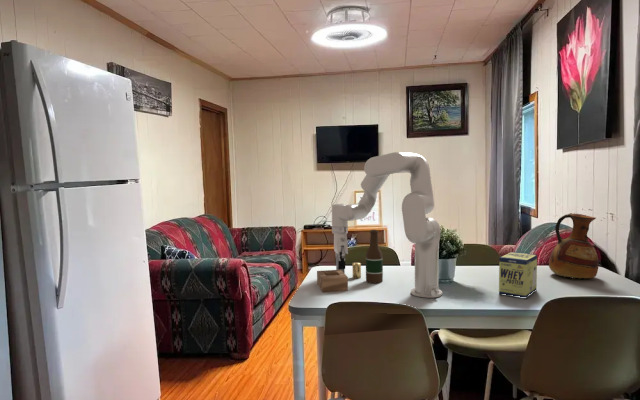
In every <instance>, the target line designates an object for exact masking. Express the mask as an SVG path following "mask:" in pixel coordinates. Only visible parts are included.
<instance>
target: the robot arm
mask: <svg viewBox="0 0 640 400" xmlns="http://www.w3.org/2000/svg"><path fill="white" fill-rule="evenodd" d="M363 167H364V169H363V170H364V173H365V176H364V178H363V180H361V183H360V188H361V189H362V190H363V195H362V196H361V198H360V199H359V201H358V203H349V204H345V203H334V204H332V206H331V233H332V234H333V250H334V252H335V254H336V253H337V254H338V255H339V261H338V269H345V270H346V255H348V254H349V249H348V245H349V244H348V233H349V230H348V229H349V223H348V222H351V221H356V220H357V221H358V220H362V219H365V218H366V217H367V216H368V215H369V213H371V212H372V210H373V208H374V206H375V205H376V202H377V196H378V195H377V194H378V192H379V191H380V189H381V188H382V186H383V185H384V184H385V182H386V181H387V179H388V178H389V177H390V175H393V174H403V173H404V174H405V173H409V174H410V178H409V186H410V193H407V194H406V195H405V196H404V197H403V199H402V203H401V212H402V213H401V214H402V221H403V228H404V233H405V237H406V239H407V240H408V242H410V243H412V244H414V287H413V288H412V289H410V294H412V296H415V297H419V298H423V299H424V298H426V299H429V298H430V299H432V298H433V299H434V298H440V297H441V296H442V295H443V291H442V290H441V289H440V288H439V258H440V257H439V249H440V240H441V226H440V223H439V222H438V221H437V220H436V219H434V218H433V217H426V215H428V214H430V213H432V211H433V210H434V208H435V200H434V193H433V192H434V191H433V186H432V185H433V184H432V177H431V168H430V164H429V162H428V160H427V159H426V158H425V157H424V156H423V155H420V154H418V153H415V152H407V151H406V152H405V151H404V152H403V151H395V152H390V153H389V152H388V153H385V154H382V155H377V156H373V157H370V158H369V159H367V160H366V162H365V164H364V165H363ZM340 253H342V254H340ZM340 256H341V258H340Z"/></svg>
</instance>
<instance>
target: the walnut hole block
mask: <svg viewBox="0 0 640 400" xmlns="http://www.w3.org/2000/svg"><path fill="white" fill-rule="evenodd" d="M348 281H349V277H348V275H347V274H346V273H345V274H344V273H343V272H342V271H341V270H336V269H331V270H330V269H329V270H317V271H316V283H317V285H318V287H319V289H320V291H321V292H322V293H334V292H346V291H347V292H348V291H349V282H348Z"/></svg>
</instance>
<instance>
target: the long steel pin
mask: <svg viewBox="0 0 640 400" xmlns="http://www.w3.org/2000/svg"><path fill="white" fill-rule="evenodd" d="M340 254H342V253H340ZM340 258H341V256H340ZM338 261H339V255H338V254H337V253H336V252H335V267H336V268H335V270H341V271H342V272H343V273H344V274H345V275H346V273H345V272H346V268H345V269H338Z"/></svg>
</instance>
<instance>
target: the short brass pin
mask: <svg viewBox="0 0 640 400" xmlns="http://www.w3.org/2000/svg"><path fill="white" fill-rule="evenodd" d="M351 270H352V279H355V280H359V279H361V278H362V263H361V262H352V269H351Z"/></svg>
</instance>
